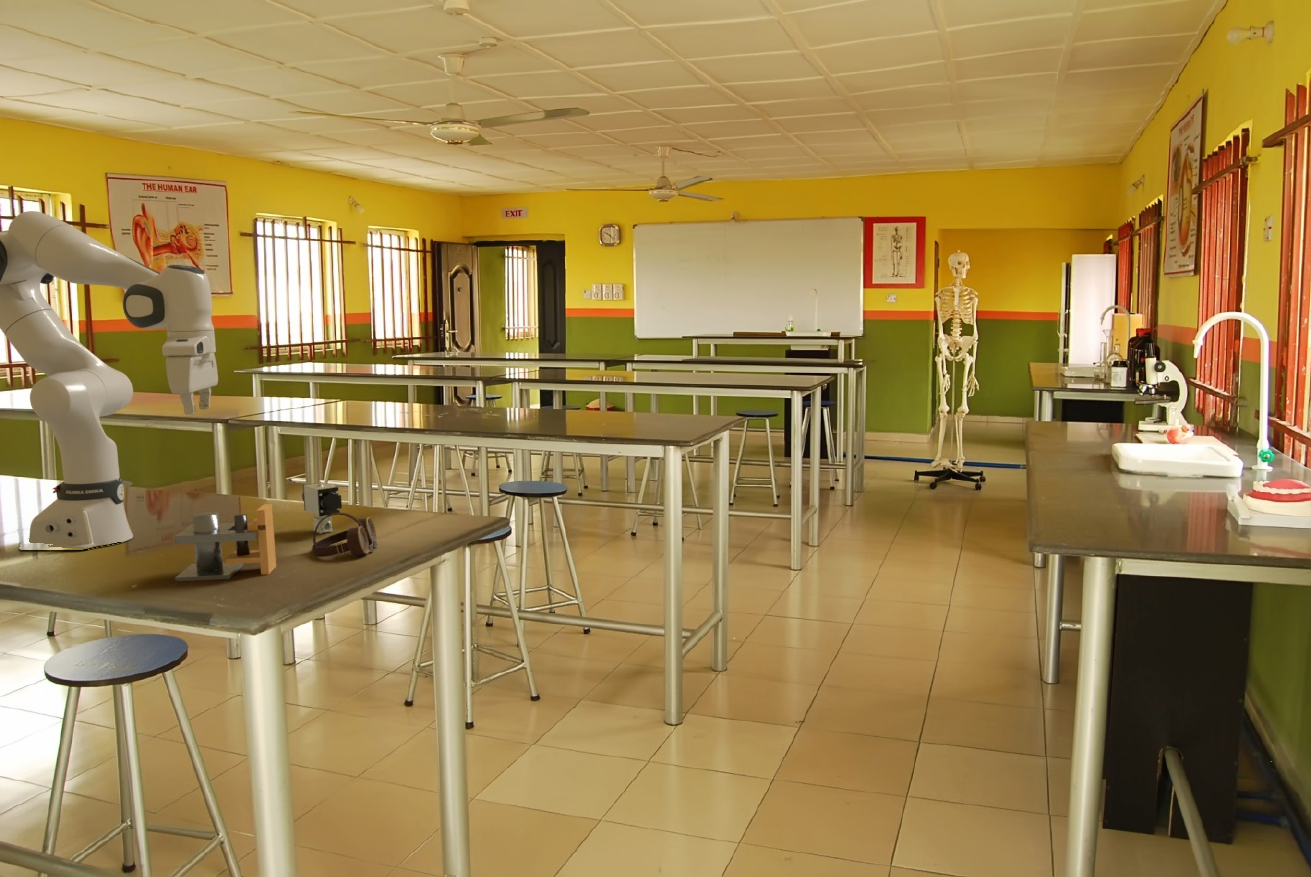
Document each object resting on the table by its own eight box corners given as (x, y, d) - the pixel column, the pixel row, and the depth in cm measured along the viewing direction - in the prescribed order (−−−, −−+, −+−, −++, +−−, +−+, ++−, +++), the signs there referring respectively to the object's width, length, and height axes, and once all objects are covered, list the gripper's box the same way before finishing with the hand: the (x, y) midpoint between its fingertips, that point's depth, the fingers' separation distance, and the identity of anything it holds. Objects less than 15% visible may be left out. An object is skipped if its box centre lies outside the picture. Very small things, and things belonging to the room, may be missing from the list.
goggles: (370, 558, 209) (356, 513, 207) (308, 574, 208) (294, 529, 207) (383, 540, 224) (370, 498, 222) (326, 555, 223) (313, 513, 222)
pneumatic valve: (324, 537, 228) (320, 486, 227) (303, 529, 237) (299, 479, 235) (347, 533, 232) (343, 482, 230) (325, 525, 241) (322, 476, 239)
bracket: (226, 576, 198) (221, 511, 196) (235, 568, 203) (230, 505, 202) (269, 574, 199) (264, 510, 197) (276, 566, 204) (271, 503, 203)
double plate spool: (175, 581, 194) (170, 521, 193) (192, 567, 204) (187, 510, 203) (258, 577, 196) (254, 517, 195) (271, 563, 206) (266, 506, 205)
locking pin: (235, 555, 199) (232, 516, 198) (238, 553, 201) (235, 514, 201) (248, 555, 199) (245, 515, 199) (251, 552, 202) (248, 513, 201)
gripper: (192, 342, 216) (197, 406, 218) (158, 347, 196) (164, 418, 198) (222, 342, 216) (227, 405, 218) (192, 347, 196) (198, 417, 198)
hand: (197, 411), depth 208 cm, fingers open, 8 cm apart
